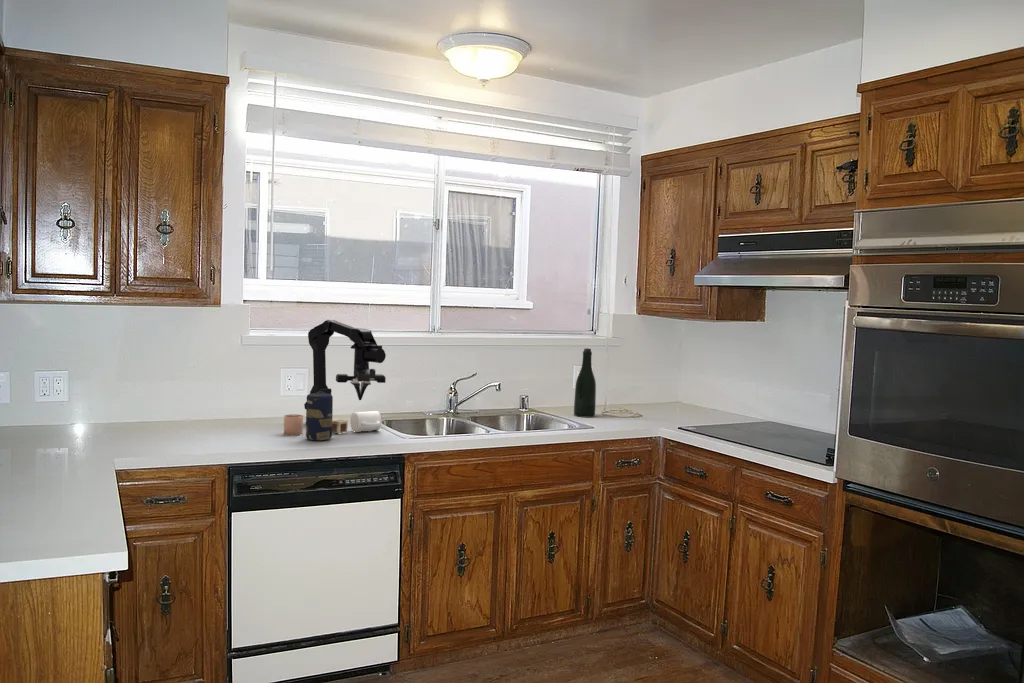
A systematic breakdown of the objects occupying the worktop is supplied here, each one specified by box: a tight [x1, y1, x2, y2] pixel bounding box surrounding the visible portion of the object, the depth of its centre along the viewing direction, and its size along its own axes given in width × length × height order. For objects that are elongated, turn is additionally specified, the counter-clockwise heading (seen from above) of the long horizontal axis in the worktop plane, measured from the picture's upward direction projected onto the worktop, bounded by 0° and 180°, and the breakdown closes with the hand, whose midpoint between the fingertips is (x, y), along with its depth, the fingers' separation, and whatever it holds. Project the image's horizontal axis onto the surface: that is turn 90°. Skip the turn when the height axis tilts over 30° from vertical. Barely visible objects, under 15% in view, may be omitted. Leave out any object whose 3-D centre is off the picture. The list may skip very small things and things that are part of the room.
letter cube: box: [332, 418, 349, 435], centre depth 299 cm, size 5×5×5 cm
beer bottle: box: [573, 348, 597, 417], centre depth 371 cm, size 10×10×33 cm
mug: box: [349, 410, 382, 433], centre depth 303 cm, size 12×10×8 cm
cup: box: [283, 413, 304, 436], centre depth 293 cm, size 7×7×7 cm
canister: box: [305, 391, 334, 441], centre depth 283 cm, size 10×10×18 cm
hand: (359, 400), depth 302 cm, fingers closed
